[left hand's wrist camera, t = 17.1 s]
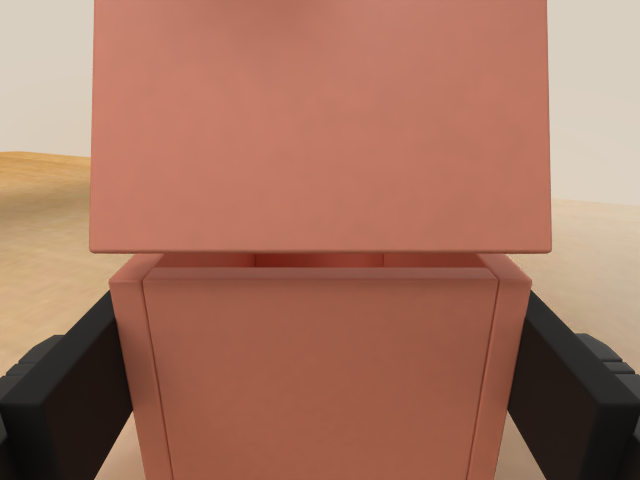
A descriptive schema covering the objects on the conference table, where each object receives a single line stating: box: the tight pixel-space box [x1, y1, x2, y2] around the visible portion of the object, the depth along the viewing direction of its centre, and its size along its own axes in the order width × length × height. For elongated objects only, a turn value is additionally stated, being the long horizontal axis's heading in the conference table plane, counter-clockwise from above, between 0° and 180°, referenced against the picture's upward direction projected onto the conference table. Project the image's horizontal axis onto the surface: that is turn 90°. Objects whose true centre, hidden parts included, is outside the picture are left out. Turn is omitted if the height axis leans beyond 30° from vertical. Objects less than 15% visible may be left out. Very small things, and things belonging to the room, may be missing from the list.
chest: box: [109, 254, 532, 480], centre depth 19 cm, size 17×10×9 cm, turn 0°
